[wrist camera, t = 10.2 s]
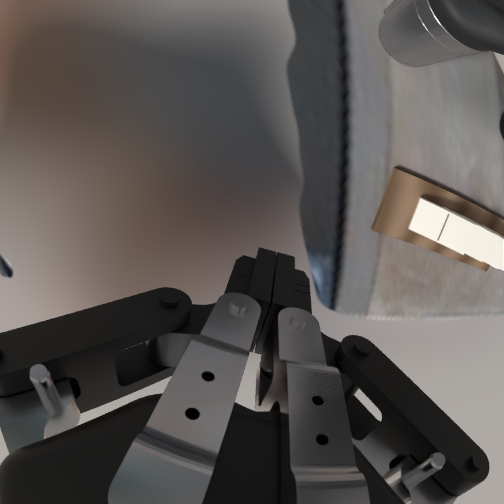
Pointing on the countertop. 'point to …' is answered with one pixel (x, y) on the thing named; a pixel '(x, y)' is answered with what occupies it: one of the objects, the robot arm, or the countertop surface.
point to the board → (403, 206)
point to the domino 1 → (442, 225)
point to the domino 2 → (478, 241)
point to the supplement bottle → (502, 125)
